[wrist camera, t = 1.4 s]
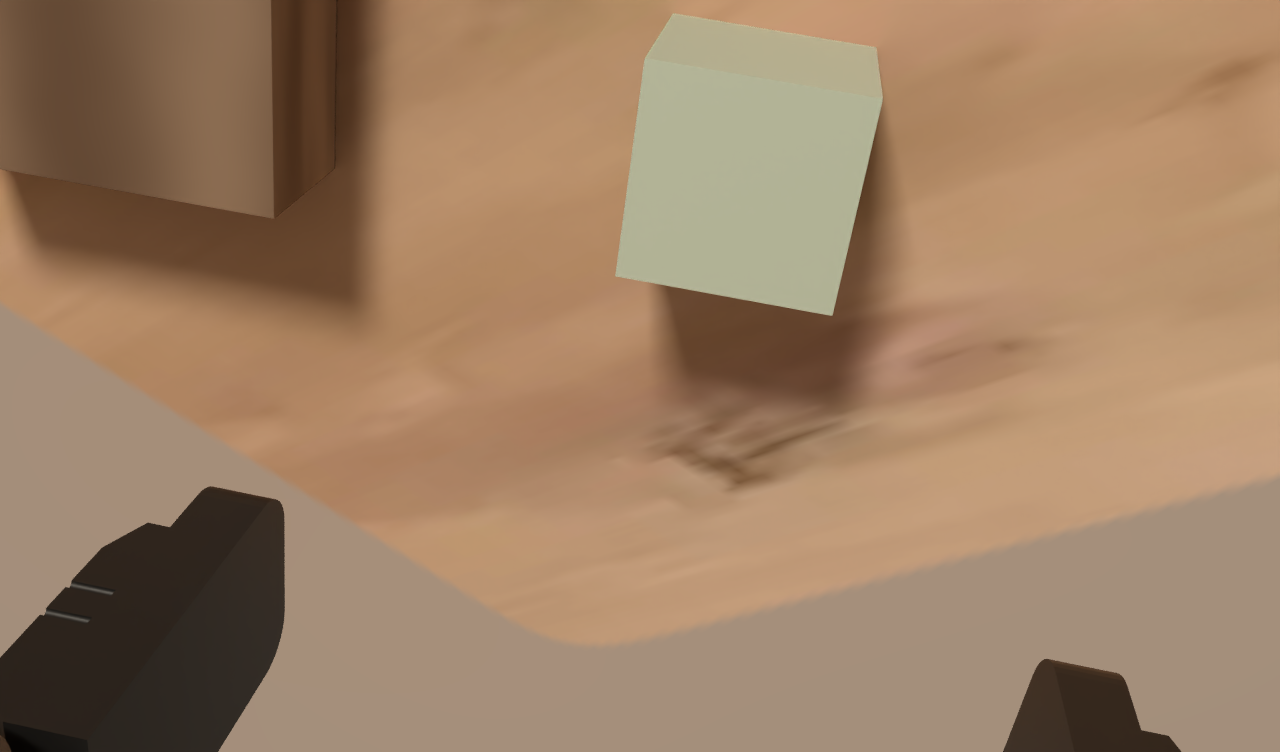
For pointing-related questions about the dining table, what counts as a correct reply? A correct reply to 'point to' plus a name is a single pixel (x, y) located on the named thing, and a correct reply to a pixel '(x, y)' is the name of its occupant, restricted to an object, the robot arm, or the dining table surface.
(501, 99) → the dining table surface
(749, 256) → the sage green cube
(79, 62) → the walnut block
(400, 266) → the dining table surface
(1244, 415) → the dining table surface
